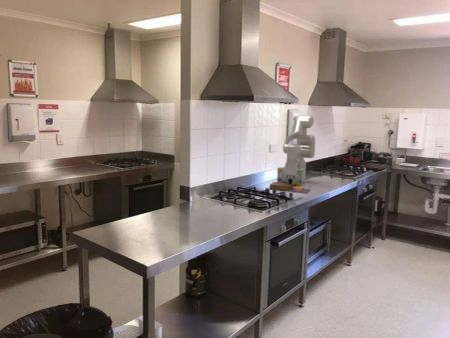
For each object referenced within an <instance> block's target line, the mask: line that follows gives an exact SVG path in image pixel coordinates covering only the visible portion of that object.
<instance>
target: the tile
mask: <svg viewBox="0 0 450 338" xmlns="http://www.w3.org/2000/svg"><path fill="white" fill-rule="evenodd" d="M304 187H305V186H303V187H302V186H296V187H293V189H294V191H301V192H302V191H303V190H304V189H305V188H304Z"/></svg>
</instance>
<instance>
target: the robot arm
mask: <svg viewBox="0 0 450 338" xmlns="http://www.w3.org/2000/svg"><path fill="white" fill-rule="evenodd" d="M314 123H315V118H314V116H313V115H301V114H299V115H295V116H294V117H293V125H292V129H291V133H290V134H288V136H287V137H286V138H285V139H284V142H283V145H282V150H283V153H284V154H286V162H285V164H284V168H285V169H284V176H286V177H287V178H288V183H289V184H292V181H293V178H294V177H297V174H298V169H303V184H305V183H308V181H307V180H306V170H307V169H306V168H307V167H306V166H307V162H306V160H305V159H313V158H314V157H315V154H316V153H315V152H316V137H315V135H312V134H308V133H307V132H308V129H310V128H312V127H313V125H314ZM295 140H296V144H293V143H292V144H291V143H290V142H291V141H295ZM305 146H306V147H305ZM290 175H292V176H291V179H290Z"/></svg>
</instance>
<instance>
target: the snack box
mask: <svg viewBox="0 0 450 338" xmlns="http://www.w3.org/2000/svg"><path fill="white" fill-rule="evenodd" d="M284 169H285V166H284V167H283V166H282V167H281V166H279V167H277V176H276V177H277V178H276V180H277V181H276V182H280V183H288V178H287V177H286V176H284ZM291 176H292V175H290V179H291ZM292 184H293V188H294V187H296V186H302V187H304V186H303V185H304V183H303V169H298V174H297V177H294V178H293V181H292Z"/></svg>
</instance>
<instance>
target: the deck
mask: <svg viewBox="0 0 450 338" xmlns="http://www.w3.org/2000/svg"><path fill="white" fill-rule="evenodd" d="M293 189H294V187H293V184H289V183H280V182H277V181H273V182H272V183H270V184H269V190H270V191H278V192H279V191H281V192H290V191H292V190H293ZM290 193H291V192H290Z"/></svg>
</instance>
